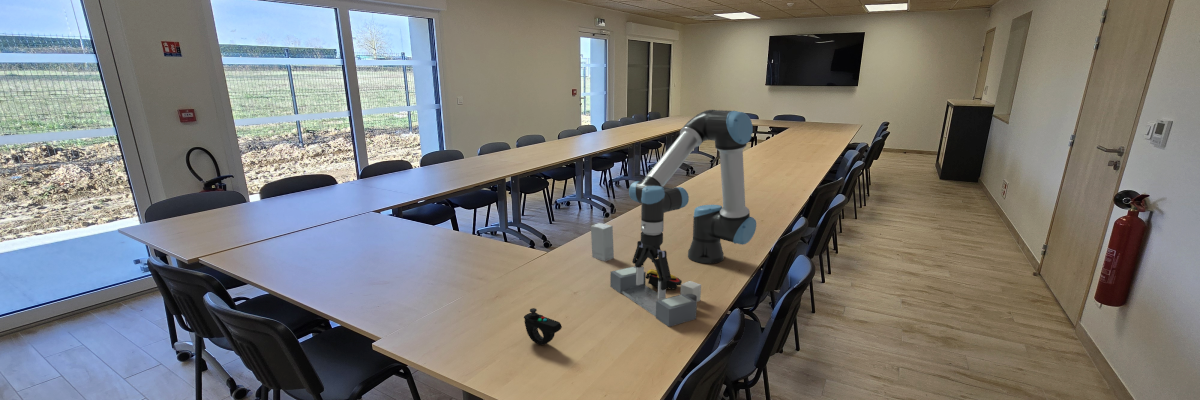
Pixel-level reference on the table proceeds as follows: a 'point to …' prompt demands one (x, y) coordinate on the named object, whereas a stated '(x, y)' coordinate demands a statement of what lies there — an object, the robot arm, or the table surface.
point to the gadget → (654, 278)
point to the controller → (540, 327)
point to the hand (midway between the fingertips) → (650, 290)
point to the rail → (643, 297)
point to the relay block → (691, 289)
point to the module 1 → (624, 279)
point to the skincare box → (602, 241)
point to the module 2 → (676, 310)
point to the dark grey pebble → (692, 296)
